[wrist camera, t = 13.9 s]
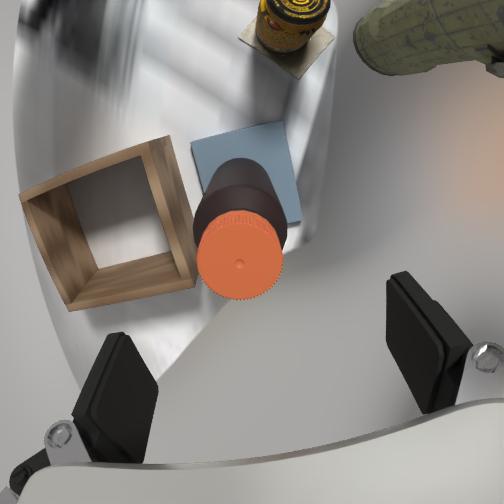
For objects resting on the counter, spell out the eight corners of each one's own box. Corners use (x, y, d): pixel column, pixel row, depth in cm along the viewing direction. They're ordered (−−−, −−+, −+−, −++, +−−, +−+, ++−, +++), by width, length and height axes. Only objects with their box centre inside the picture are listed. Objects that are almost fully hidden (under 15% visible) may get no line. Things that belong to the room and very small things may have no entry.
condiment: (276, -5, 28) (290, -49, 17) (334, 37, 30) (372, 9, 19) (237, 37, 30) (236, 4, 19) (298, 79, 32) (324, 64, 21)
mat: (191, 141, 35) (190, 142, 34) (281, 120, 34) (282, 120, 33) (218, 236, 40) (217, 239, 39) (301, 217, 39) (303, 219, 38)
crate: (57, 176, 36) (18, 194, 27) (169, 135, 34) (147, 141, 26) (95, 276, 42) (69, 311, 33) (203, 251, 41) (194, 287, 32)
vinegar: (225, 147, 34) (206, 184, 16) (280, 172, 36) (321, 235, 17) (201, 201, 37) (164, 289, 19) (255, 223, 38) (267, 327, 20)
